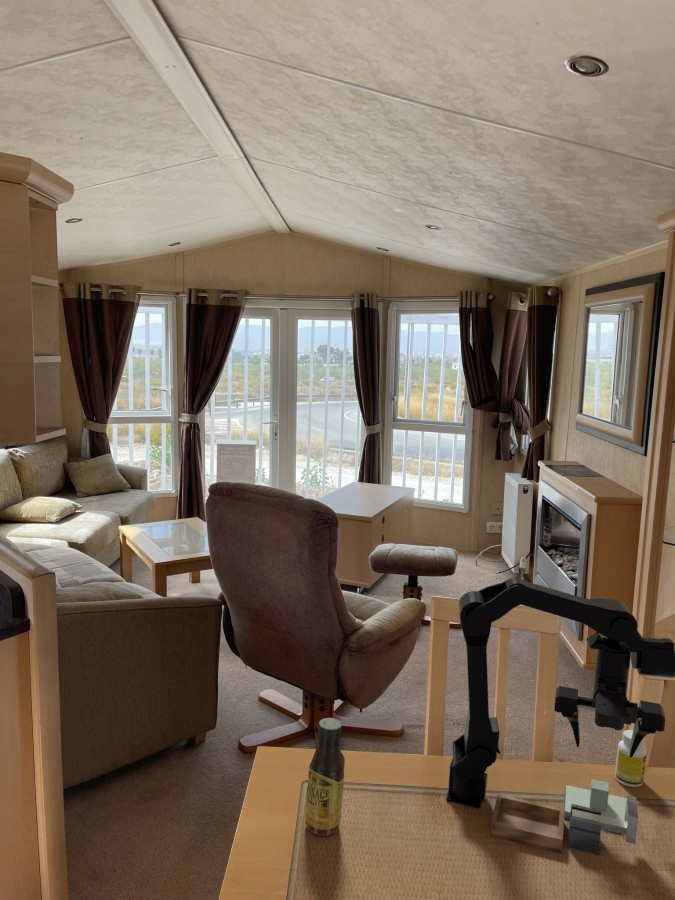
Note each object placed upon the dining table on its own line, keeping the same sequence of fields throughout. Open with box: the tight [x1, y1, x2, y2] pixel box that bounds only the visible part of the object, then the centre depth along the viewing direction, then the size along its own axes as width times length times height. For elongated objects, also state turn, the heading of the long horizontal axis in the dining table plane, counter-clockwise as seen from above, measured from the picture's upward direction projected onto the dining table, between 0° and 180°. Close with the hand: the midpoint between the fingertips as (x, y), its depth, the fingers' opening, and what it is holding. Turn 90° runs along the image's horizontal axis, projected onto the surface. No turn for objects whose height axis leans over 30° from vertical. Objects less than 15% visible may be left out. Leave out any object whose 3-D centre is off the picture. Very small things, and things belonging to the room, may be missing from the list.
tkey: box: [572, 795, 639, 845], centre depth 127 cm, size 10×6×5 cm, turn 71°
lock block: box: [567, 804, 602, 856], centre depth 128 cm, size 5×5×5 cm
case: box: [490, 793, 565, 854], centre depth 132 cm, size 12×9×2 cm
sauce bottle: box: [304, 717, 346, 837], centre depth 128 cm, size 6×6×20 cm
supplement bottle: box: [614, 729, 648, 788], centre depth 147 cm, size 5×5×10 cm
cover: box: [564, 778, 627, 821], centre depth 137 cm, size 12×9×5 cm
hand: (604, 751), depth 136 cm, fingers open, 9 cm apart
